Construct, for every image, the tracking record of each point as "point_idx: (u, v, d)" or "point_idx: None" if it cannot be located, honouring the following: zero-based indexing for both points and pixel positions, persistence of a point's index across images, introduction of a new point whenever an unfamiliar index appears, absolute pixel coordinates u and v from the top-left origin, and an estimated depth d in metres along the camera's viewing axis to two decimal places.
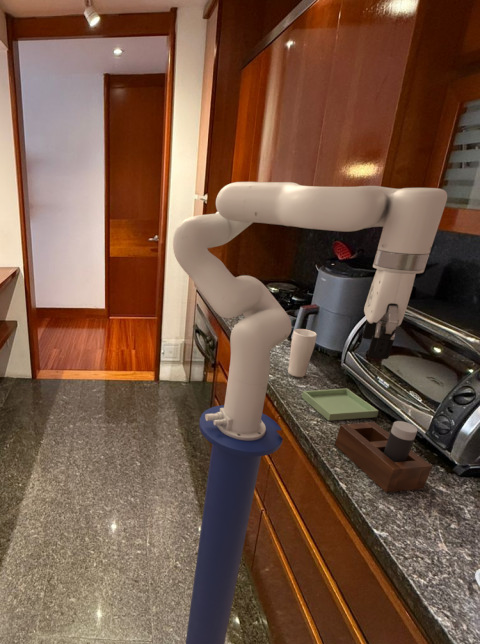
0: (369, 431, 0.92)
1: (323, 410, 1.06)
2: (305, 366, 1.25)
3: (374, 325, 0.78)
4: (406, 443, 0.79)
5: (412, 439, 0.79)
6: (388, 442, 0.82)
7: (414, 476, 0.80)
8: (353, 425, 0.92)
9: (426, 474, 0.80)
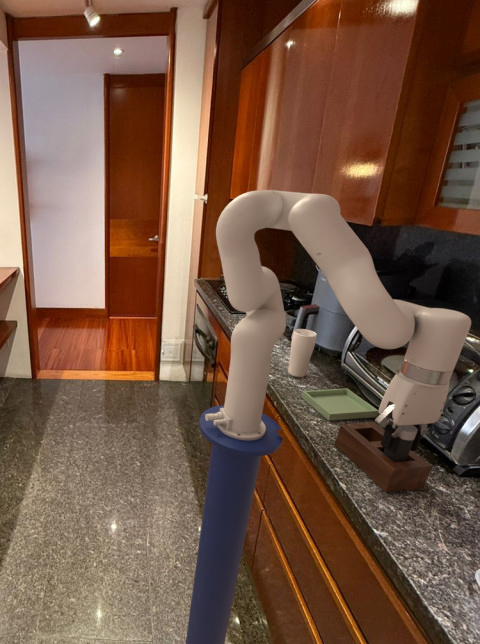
0: (369, 431, 0.92)
1: (323, 410, 1.06)
2: (305, 366, 1.25)
3: None
4: (406, 443, 0.79)
5: (412, 439, 0.79)
6: None
7: (414, 476, 0.80)
8: (353, 425, 0.92)
9: (426, 474, 0.80)
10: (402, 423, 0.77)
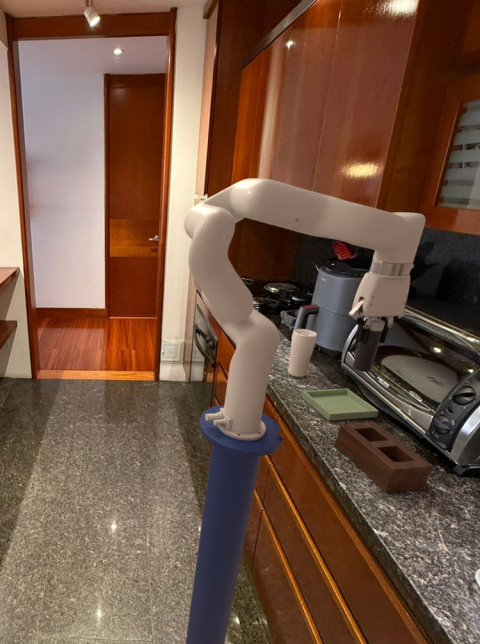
0: (369, 431, 0.92)
1: (323, 410, 1.06)
2: (305, 366, 1.25)
3: None
4: (375, 334, 0.93)
5: (380, 330, 0.93)
6: None
7: (414, 476, 0.80)
8: (353, 425, 0.92)
9: (426, 474, 0.80)
10: (371, 314, 0.91)
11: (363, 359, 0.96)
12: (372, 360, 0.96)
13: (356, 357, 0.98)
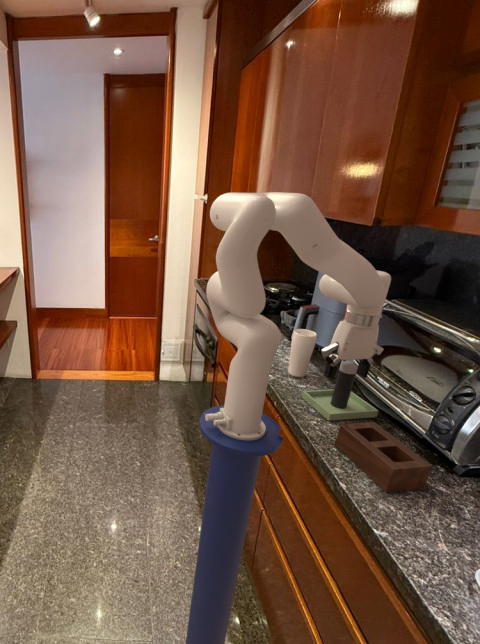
0: (369, 431, 0.92)
1: (323, 410, 1.06)
2: (305, 366, 1.25)
3: (362, 365, 1.06)
4: (349, 377, 1.05)
5: (354, 373, 1.04)
6: (337, 377, 1.08)
7: (414, 476, 0.80)
8: (353, 425, 0.92)
9: (426, 474, 0.80)
10: (345, 358, 1.02)
11: (340, 398, 1.08)
12: (347, 398, 1.07)
13: (333, 395, 1.09)
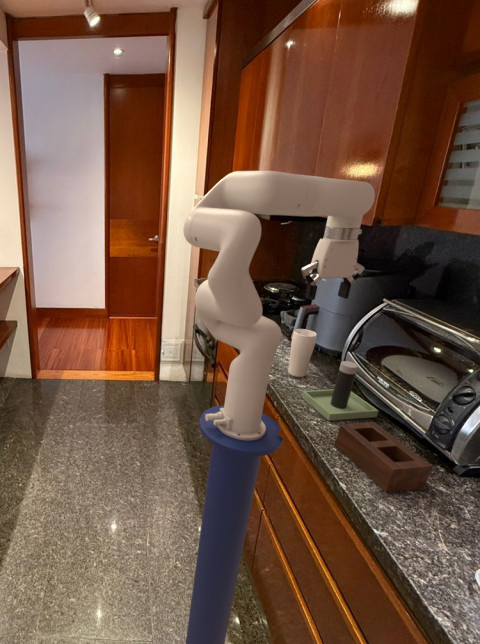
0: (369, 431, 0.92)
1: (323, 410, 1.06)
2: (305, 366, 1.25)
3: (343, 286, 1.05)
4: (349, 377, 1.05)
5: (354, 373, 1.04)
6: (337, 377, 1.08)
7: (414, 476, 0.80)
8: (353, 425, 0.92)
9: (426, 474, 0.80)
10: (325, 275, 1.01)
11: (340, 398, 1.08)
12: (347, 398, 1.07)
13: (333, 395, 1.09)
